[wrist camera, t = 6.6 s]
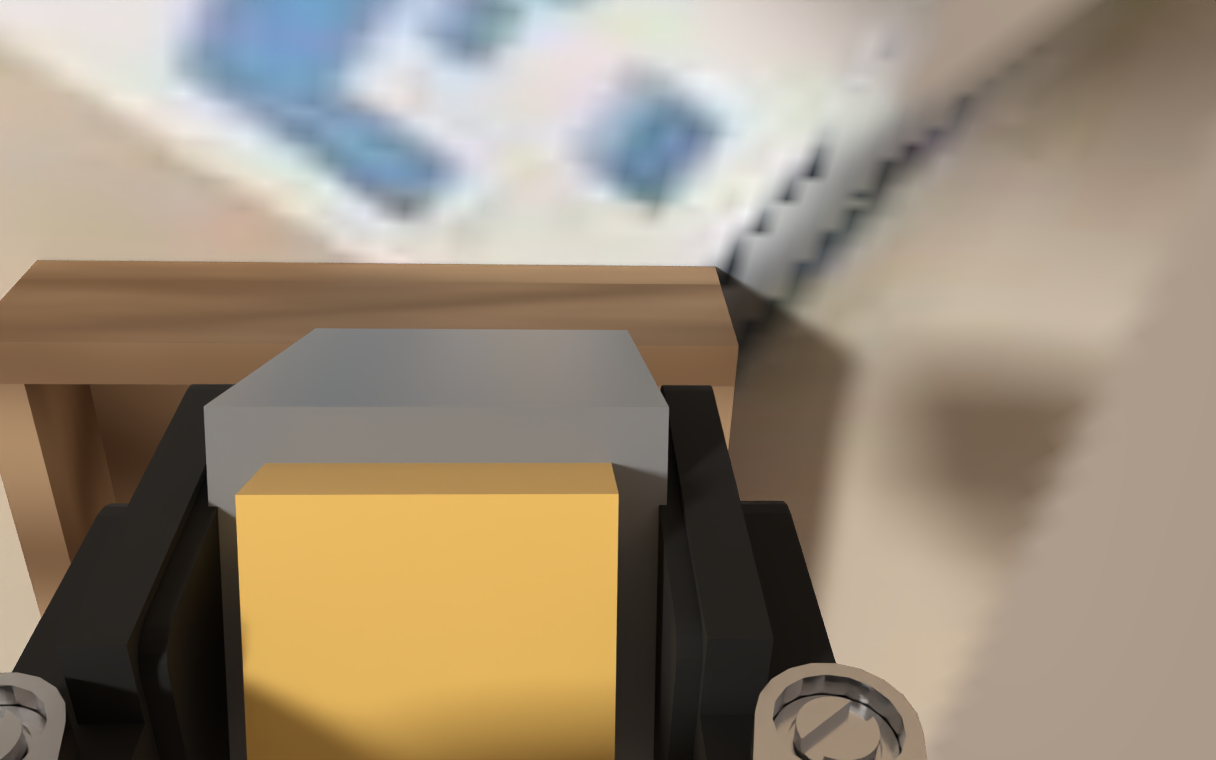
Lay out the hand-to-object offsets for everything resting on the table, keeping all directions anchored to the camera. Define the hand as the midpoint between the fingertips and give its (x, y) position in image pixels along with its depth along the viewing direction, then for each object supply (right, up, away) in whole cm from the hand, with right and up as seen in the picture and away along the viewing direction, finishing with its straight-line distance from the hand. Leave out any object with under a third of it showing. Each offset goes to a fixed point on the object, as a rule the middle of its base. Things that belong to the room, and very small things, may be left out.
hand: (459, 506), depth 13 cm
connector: (0, 0, +3) cm, 3 cm away
